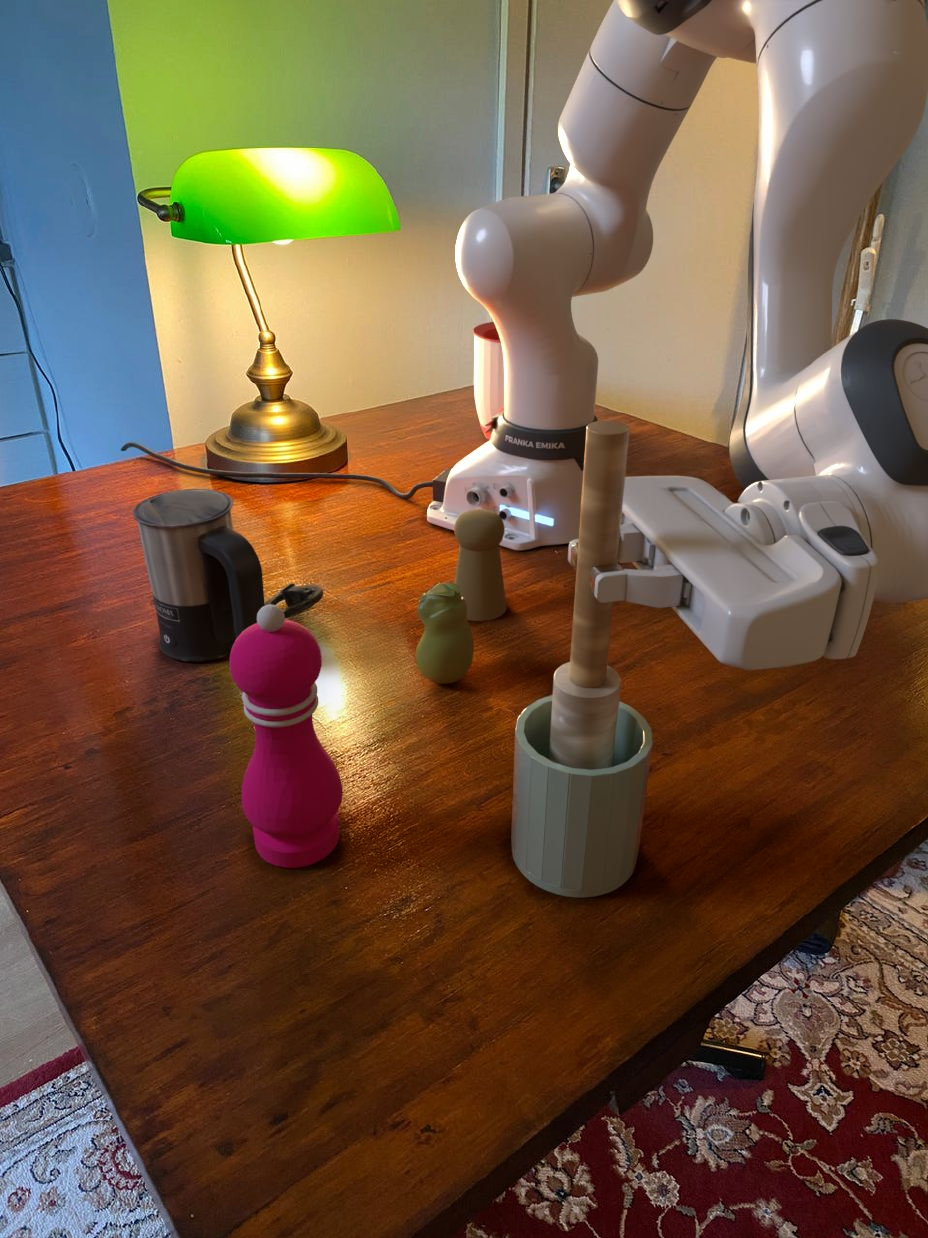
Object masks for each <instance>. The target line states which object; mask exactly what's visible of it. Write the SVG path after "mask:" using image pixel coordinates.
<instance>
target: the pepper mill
mask: <svg viewBox="0 0 928 1238" xmlns="http://www.w3.org/2000/svg"><path fill="white" fill-rule="evenodd" d="M228 663H229V672H230V675H231V679H232V681H233V682H234V684H235V685H236V687H237V688H238V689H239V690H240V691H241V692H242V693H241V699H242V703H243V712H244V714H245V716H246V718H247V719H248V720H250V722H252V724H253V728H254V735H255V736H254V737H255V745H254V750H253V753H252V756H251V758H250V760H249V762H248V765H247V767H246V770H245V773H244V775H243V780H242V784H241V793H240V794H241V807H242V811H243V814H244V817H245V818H246V819H247V821H248V822H249V823H250V824H251V826H252V831H253V832H252V833H253V840H254V844H255V845H254V847H255V850H256V852H257V853H258V855H259V857H260V858H262V860H264V861H266V862H267V863H268V864H271V865H273V866H275V867H279V868H286V869H298V868H303V867H309V866H311V865H314V864H316V863H318V862H320V861H322V860H323V859H325V858H326V857H327V856H329V855H330V854H331V853H332V852H333V850H335V848H336V847H337V845H338V842H339V841H340V840H339V839H340V819H339V813H338V811H339V810H340V807H341V804H342V801H343V795H344V794H343V784H342V780H341V776H340V773H339V770H338V768H337V765H336V764H335V762H334V760H333V758H332V756H331V755H330V754H329V753H328V752H327V749H325V748H324V746H323V745H322V743H321V741H320V740H319V738H318V736H317V734H316V733H317V732H316V731H315V728H314V722H313V714H314V713H315V712H316V710H317V708H318V706H319V697H318V686H317V684H316V681H317V680H318V679H319V676H320V673H321V671H322V667H323V657H322V650H321V648H320V644H319V642H318V640H317V638H316V637H315V635H314V634H313V633H312V632H311V631H310V630H309V629H308V628H307V627H305V626H304V625H302V624H301V623H299V622H297V621H294V620H290V619H285V615H284V613H283V611H282V609H281V607H279V606H278V605H266V606H264V607H262V608H261V609H260V610H259V612H258V614H257V623H256V624H254V625H252V626H250V627H248V628H247V629H245V630H244V631H243V632H242V633H241V634H240V635H239V636H238V637H237V639H236V640H235V642H234V644H233V646H232V649H231V653H230V655H229V661H228Z"/></svg>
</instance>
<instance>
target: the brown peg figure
mask: <svg viewBox="0 0 928 1238" xmlns="http://www.w3.org/2000/svg"><path fill="white" fill-rule="evenodd" d="M504 528H505V527H504V523H503V521H502V519H501V517H500V516H499V515H498V514H497V513H495V512H492V511H490V510H485V509H474V510H469V511H466V512H464V513H462V514H461V515H459V517H458V518H457V520H456V522H455V526H454V530H453V531H454V536H455V539H456V541H457V543H458V544H459V546H458V553H457V560H456V569H455V576H454V582H453V583H454V584H456V585H457V586H458V587H459V589H460V596H461V597H464V599H465V602H466V606H467V621H472V622H487V621H492V620H496V619H497V618H499V617H502V616H503V615H504V614H505V613H506V610H507V601H506V600H507V599H506V593H505V585H504V584H505V583H504V577H503V568H502V559H501V552H500V551H501V550H500V545H499V544H500V542H501V541H502V539H503V535H504Z"/></svg>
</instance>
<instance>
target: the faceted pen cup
mask: <svg viewBox="0 0 928 1238" xmlns="http://www.w3.org/2000/svg"><path fill="white" fill-rule="evenodd" d="M552 697H553V694H551V695H548V696H544V697H542V698H539V699H537V700H535V701H534V702H532V703H530V704H529V705H528V706H526V707H525V708H524V709H523V710H522V712H521V713H520V714H519V716H518V717H517V719H516V722H515V723H516V724H515V729H514V730H515V731H514V752H513V754H514V755H513V778H512V779H513V781H512V783H513V784H512V807H511V809H512V811H511V832H510V833H511V837H510V840H511V841H510V844H511V855H512V859H513V861H514V863H515V865H516V867H517V869H518V870H519V872H520V873H521V874H522V875H523V876H524V878H526V879H527V880H528V881H529V882H530V883H532V884H534V885H535V886H536V887H538V888H540V889H542V890H544V891H546V892H548V893H551V894H554V895H557V896H561V897H565V898H566V897H567V898H575V899H578V898H579V899H581V898H583V899H584V898H585V899H586V898H594V897H599V896H603V895H607V894H609V893H611V892H613V891H616V890H617V889H618V888H620V887H622V886H623V885H624V884H625V883H626V882H627V881H628V880H629V879H630V878H631V876H632V875H633V873H634V871H635V869H636V866H637V860H638V857H639V851H640V845H641V844H640V843H641V836H642V827H643V823H644V822H643V820H644V813H645V805H646V799H647V791H648V783H649V776H650V775H649V774H650V767H651V759H652V753H653V752H652V751H653V745H654V740H653V729H652V728H651V726H650V724H649V723H648V721H647V719H646V718H645V717H644V716H643V715H642V714H641V713H639V712H638V711H637V710H636V709H635V708H634V707H632V706H630V705H629V704H626V703H624V702H622V701H621V700H619V707H618V717H617V726H616V736H615V745H614V754H613V764H612V767H611V768H602V769H594V770H589V769H578V768H571V767H567V766H564V765H561V764H557V763H554V762H552V761H550V760H549V747H550V730H551V714H552Z"/></svg>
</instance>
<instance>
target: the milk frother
mask: <svg viewBox="0 0 928 1238" xmlns="http://www.w3.org/2000/svg"><path fill="white" fill-rule="evenodd" d="M233 500H234V499H233V498H232V497H231V496H230V495H228V493H225V492H222V491H219V490H213V489H208V488H207V489H206V488H185V489H176V490H171V491H166V492H162V493H158V494H155V495H153V496H150V497H148V498H147V497H146V498H145V499H144V500H142V501H140V502H139V503H137V504H136V505H135V506H134V507H133V509H132V511H131V512H132V517H133V519H134V520H135V521H136V522H137V528H138V532H139V537H140V542H141V547H142V552H143V557H144V561H145V566H146V572H147V575H148V580H149V585H150V589H151V593H152V597H153V602H154V607H155V612H156V618H157V623H158V624H157V625H158V630H159V640H158V643H159V644H158V645H159V649H160V650H161V652H162V653H163V654H164V655H166V656H167V657H169V658H171V659H174V660H176V661H181V662H192V663H193V662H194V663H198V662H207V661H214V660H218V659H221V658H225V657H228V656H230V653H231V649H232V646H233V644H234V642H235V640H236V639H237V637H238V636H239V635H240V634H241V633H242V632H243V631H244V630H245V629H247V628H248V627H250V626H252V625H254V624H256V623H257V614H258V612H259V610H260V609H261V608H262V607H264V606H266V605H276V606H278V604H279V603H281V602H283V601H284V602H285V603H286V606H287V607H286V608H282V609H281V610H282V611H283V613H284V615H285V620H287V619H289V618H291V617H294V616H296V615H299V614H301V613H303V612H304V611H307V610H308V609H310V608H312V607H313V606H315V605H316V604H317V603H318V602H320V601H321V600H322V598H323V596H324V589H323V588H322V587H321V586H320V585H317V584H305V585H301V586H300V585H299V586H298V585H295V583H288V585H286V586H285V587H283V588H282V589H280V590H278V591H277V595H273V596H272V597H271V598H269V599H267V600H266V601H265V591H264V581H263V579H264V578H263V569H262V565H261V561H260V558H259V556H258V554H257V552H256V550H255V548H254V547H253V545H252V544H251V543H250V541H249V540H248V539H247V538H246V537H245V536H244V535H243V534H241V533H240V532H237V531H236V530H234V522H233V517H232V508H233V506H234V501H233Z"/></svg>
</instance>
